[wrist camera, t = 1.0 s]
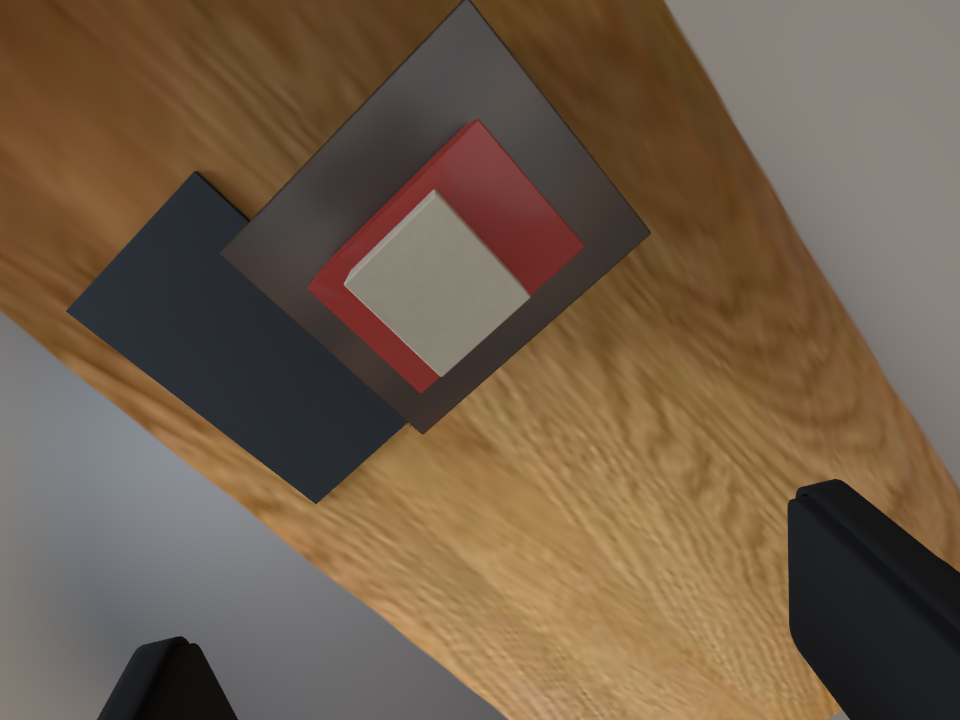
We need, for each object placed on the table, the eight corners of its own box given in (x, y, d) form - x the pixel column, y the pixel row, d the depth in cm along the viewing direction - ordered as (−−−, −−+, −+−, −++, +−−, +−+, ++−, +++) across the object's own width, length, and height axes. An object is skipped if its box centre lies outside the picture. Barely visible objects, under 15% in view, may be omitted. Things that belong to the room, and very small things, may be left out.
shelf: (281, 217, 35) (218, 253, 24) (450, 43, 33) (467, -6, 22) (421, 351, 39) (422, 436, 28) (581, 204, 37) (652, 233, 26)
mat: (69, 309, 36) (65, 311, 35) (196, 170, 34) (194, 171, 33) (316, 501, 42) (315, 504, 42) (436, 394, 40) (436, 397, 40)
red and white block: (420, 349, 26) (421, 418, 20) (327, 260, 25) (294, 303, 18) (554, 226, 25) (602, 257, 18) (466, 122, 23) (485, 115, 17)
